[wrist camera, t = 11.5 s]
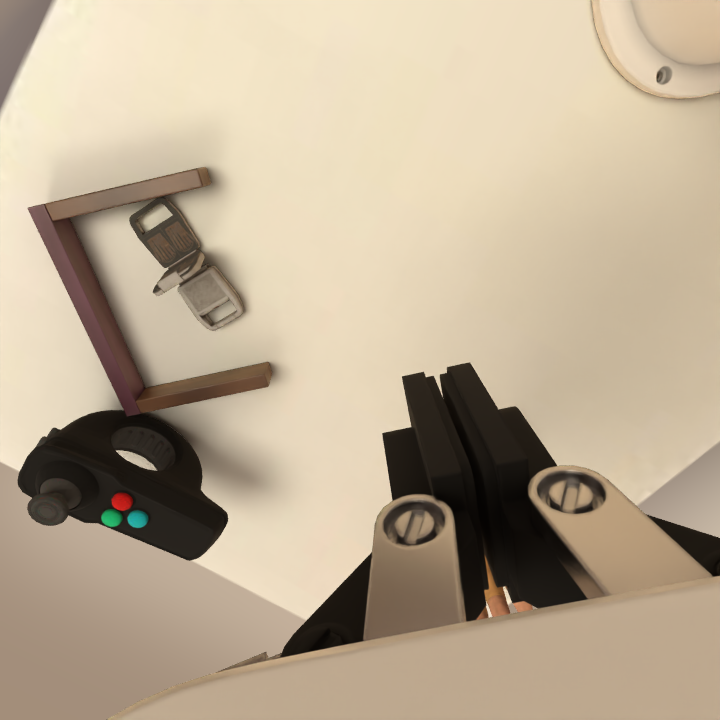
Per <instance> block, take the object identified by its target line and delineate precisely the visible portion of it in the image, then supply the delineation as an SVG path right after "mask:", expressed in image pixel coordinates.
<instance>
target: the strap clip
mask: <svg viewBox="0 0 720 720" xmlns="http://www.w3.org/2000/svg"><path fill="white" fill-rule="evenodd" d="M160 204H164V205H165V206H166V207H167V209H168V210H169V211H170V212H171V213H172V214H173V216H171V217H170V218H168V219H167V220H165V221H163V222H162V223H160V224H159V225H157V226H156V227H154V228H153V229H151V230H150V231H148V232H147V233H145V232H144V231H143V229H142V228H141V226H140V225H139V223H138V219H139V218H140V217H141V216H143V215H144V214H146V213H147V212H149V211H150V210H152V209H153V208H155V207H156V206H158V205H160ZM129 221H130V224H131V226H132V228H133V230H134V231H135V233H136V235H137V236H138V238H139V239H140V240H141V242H142V243H143V244H144V245H145V246H146V248H147V249H148V250H149V251H150V252H151V253H152V255H153V256H154V257H155V258H156V259H157V261H158V262H159V263H160V264H161V265H162V266H163V267H164V268H167V267H169V268H168V269H169V270H167V271H166V272H165V273H164V275H163V276H162V277H161V279H160V280H159V282H157V285H156V286H155V287H154V290H153V293H154V294H155V295H156V296H160V295H162V294H163V293H165V292H166V291H168V290H170V289H171V288H173V287H175V286H176V285H178V284H179V285H180V286H179V287H178V292H179V293H180V295H181V296H182V298H183V299H184V301H185V302H186V304H187V305H188V307H189V308H190V310H191V311H192V313H193V314H194V316H195V317H196V318H197V320H198V321H199V322H200V323H202V324H203V325H204V326H205V327H206V328H207V329H209V330H212V331H214V330H217V329H219V328H220V327H222V326H224V325H226V324H227V323H229V322H231V321H232V320H234V319H236V318H237V317H239V316H241V315H242V313H243V311H244V307H243V304H242V302H241V300H240V298H239V296H238V294H237V292H236V291H235V290H234V289H233V287H232V286H231V285H230V284H229V282H228V281H227V280H226V279H225V277H224V276H223V275H222V274H221V272H220V271H219V270H218V269H217V267H216V266H209V265H208V263H207V264H206V265H204V266H202V263H203V260H204V255H203V253H202V252H201V251H199V250H198V248H199V247H200V243H199V241H198V240H197V238H196V237H195V235H194V234H193V232H192V230H191V229H190V227H189V226H188V224H187V222H186V221H185V219H184V218H183V216H182V215H181V213H180V211H179V210H178V209H177V208H176V207H175V206H174V205H173V204H172V203H171V202H170V201H169V200H167V199H166V198H163V197H160V198H157V199H156V200H154V201H153V202H151V203H150V204H148V205H147V206H145V207H144V208H142V209H141V210H139V211H138V212H136V213H134V214H133V215H131V217H130V220H129ZM201 266H202V267H201ZM229 300H231V301H232V303H233V305H234V306H235V308H236V309H237V311H235V312H234V313H232V314H230V315H228V316H227V317H225V318H223V319H222V320H220V321H218V322H216V323H213V322H212V321H211V320H210V318H209V317H208V316H207V315H206V314H207V313H209V312H210V311H212V310H214V309H215V308H217V307H219V306H220V305H222V304H224V303H225V302H227V301H229Z"/></svg>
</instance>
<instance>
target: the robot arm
mask: <svg viewBox="0 0 720 720" xmlns="http://www.w3.org/2000/svg"><path fill="white" fill-rule="evenodd" d="M592 8H593V15H594V23H595V27H596V30H597V33H598V36H599V39H600V42H601V45H602V47H603V49H604V51H605V53H606V54H607V56H608V58H609V60H610V61H611V63H612V65H613V66H614V67H615V68H616V69H617V70H618V71H619V72H620V74H621V75H622V76H623V77H624V78H625V79H626V80H627V81H629V82H630V83H632V84H633V85H635V86H636V87H638V88H639V89H641V90H642V91H645V92H648V93H651V94H654V95H657V96H659V97H666V98H676V99H684V98H694V97H702V96H707V95H711V94H715V93H720V0H592ZM657 74H658V79H656V76H657ZM402 380H403V385H404V390H405V395H406V400H407V406H408V411H409V416H410V421H411V426H412V427H410V428H405V429H400V430H396V431H391V432H386V433H382V434H383V441H384V448H385V454H386V461H387V467H388V474H389V480H390V486H391V493H392V499H393V501H392V502H390V503H389V504H388V505H386V506H385V507H384V508H383V509H382V511H381V512H380V513H379V515H378V516H377V519H376V523H375V528H374V538H373V548H372V553H371V554H370V555H369V556H368V557H367V558H366V559H365V560H364V561H363V562H362V563H361V564H360V565H359V566H358V567H357V568H356V569H355V570H354V572H353V573H352V574H351V575H350V576H349V577H348V578H347V579H346V580H345V581H344V582H343V583H342V584H341V585H340V586H339V587H338V588H337V589H336V590H335V591H334V592H333V594H332V595H331V596H330V597H329V598H328V599H327V600H326V601H325V602H324V603H323V604H322V605H321V606H320V607H319V608H318V609H317V610H316V611H315V612H314V613H313V614H312V616H311V617H310V618H309V619H308V620H307V621H306V622H305V623H304V624H303V625H302V626H301V627H300V628H299V629H298V630H297V631H296V632H295V633H294V634H293V636H292V637H291V639H290V640H289V641H288V643H287V644H286V645H285V647H284V649H283V652H282V653H280V654H278V655H275V656H273V657H270V658H268V655H267V653H266V652H264V653H262V654H259V655H257V656H254V657H252V658H250V659H247V660H245V661H242V662H240V663H238V664H235V665H233V666H230V667H228V668H225V669H223V670H221V671H218V672H216V673H213V674H209V675H206V676H203V677H200V678H197V679H194V680H191V681H188V682H185V683H182V684H179V685H175V686H173V687H171V688H169V689H166V690H164V691H161V692H159V693H157V694H155V695H152V696H150V697H148V698H146V699H143V700H141V701H139V702H137V703H135V704H133V705H131V706H130V707H128V708H126V709H124V710H123V711H121V712H119V713H117V714H116V715H114V716H112V717H110V718H109V719H107V720H720V538H718V537H715V536H712V535H709V534H706V533H702V532H699V531H696V530H693V529H690V528H687V527H684V526H681V525H677V524H674V523H671V522H668V521H665V520H662V519H658V518H655V517H652V516H649V515H646V514H645V513H644V512H642V511H641V510H640V509H639V508H638V507H637V506H636V505H635V504H634V503H633V502H632V501H630V500H629V499H628V498H627V497H626V496H625V495H624V494H623V493H622V492H621V491H620V490H618V489H617V488H616V487H615V486H614V485H613V484H612V483H611V482H610V481H609V480H608V479H606V478H605V477H603V476H602V475H600V474H599V473H597V472H595V471H592V470H590V469H587V468H583V467H578V466H557V464H556V463H555V462H554V460H553V459H552V457H551V456H550V454H549V453H548V451H547V450H546V448H545V447H544V445H543V444H542V442H541V441H540V440H539V438H538V437H537V435H536V434H535V432H534V431H533V429H532V428H531V426H530V425H529V423H528V422H527V420H526V419H525V418H524V416H523V415H522V413H521V412H520V410H519V409H518V408H517V407H515V406H514V407H509V408H504V409H499V410H498V408H497V406H496V405H495V403H494V401H493V400H492V398H491V396H490V395H489V393H488V392H487V390H486V388H485V387H484V385H483V383H482V382H481V380H480V378H479V377H478V375H477V373H476V372H475V370H474V368H473V367H472V365H471V364H470V362H469V363H465V364H460V365H455V366H450V367H447V373H445V374H440V381H441V388H442V394H443V397H442V395H441V393H440V390H439V388H438V385H437V383H436V380H435V378H434V376H430V377H426V376H425V374H424V372H421V373H416V374H412V375H407V376H402ZM485 557H486V560H487V562H488V565H489V568H490V571H491V573H492V576H493V579H494V582H495V584H496V586H497V588H499V587H504V586H506V587H507V590H508V593H509V595H510V598H511V601H512V603H517V602H522V601H525V602H527V603H529V604H531V605H533V606H535V607H536V608H538V609H534V610H528V611H523V612H517V613H513V614H506V615H501V616H496V617H490V618H485V619H479V620H477V618H478V617H479V615H480V614H481V612H482V611H483V609H484V608H485V606H486V599H485V592H484V590H488V589H489V582H488V575H487V568H486V561H485Z"/></svg>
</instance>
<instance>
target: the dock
mask: <svg viewBox="0 0 720 720" xmlns="http://www.w3.org/2000/svg"><path fill="white" fill-rule="evenodd" d="M210 184H211V181H210V178H209V175H208V171H207V168H206V167H202V168H196V169H192V170H188V171H183V172H179V173H175V174H170V175H166V176H162V177H158V178H153V179H149V180H145V181H140V182H136V183H132V184H127V185H123V186H119V187H115V188H110V189H106V190H102V191H97V192H93V193H89V194H85V195H80V196H76V197H72V198H67V199H63V200H59V201H54V202H50V203H46V204H41V205H37V206H33V207H29V208H28V210H29V212H30V214H31V216H32V219H33V221H34V223H35V225H36V227H37V229H38V231H39V233H40V235H41V237H42V240H43V242H44V244H45V246H46V248H47V250H48V252H49V254H50V256H51V258H52V260H53V263H54V265H55V267H56V269H57V271H58V273H59V275H60V277H61V279H62V281H63V283H64V286H65V288H66V290H67V292H68V294H69V296H70V298H71V300H72V302H73V304H74V307H75V309H76V311H77V313H78V315H79V317H80V319H81V321H82V323H83V325H84V327H85V330H86V332H87V334H88V336H89V338H90V340H91V342H92V344H93V346H94V348H95V350H96V353H97V355H98V357H99V359H100V361H101V363H102V365H103V367H104V369H105V371H106V374H107V376H108V378H109V380H110V382H111V384H112V386H113V388H114V390H115V392H116V394H117V397H118V399H119V401H120V403H121V405H122V407H123V409H124V411H125V413H126V415H127V416H131V415H136V414H141V413H145V412H150V411H155V410H159V409H164V408H169V407H174V406H179V405H183V404H188V403H193V402H198V401H202V400H207V399H212V398H217V397H221V396H226V395H231V394H236V393H241V392H245V391H250V390H255V389H260V388H264V387H268V386H269V383H270V380H271V376H272V372H271V369H270V365H269V363H268V362H266V363H261V364H256V365H252V366H247V367H242V368H238V369H233V370H228V371H223V372H219V373H214V374H209V375H205V376H200V377H195V378H190V379H186V380H181V381H176V382H172V383H167V384H162V385H157V386H153V387H148V388H145V386H144V383H143V381H142V379H141V377H140V374H139V372H138V370H137V368H136V365H135V363H134V361H133V359H132V357H131V354H130V352H129V350H128V348H127V345H126V343H125V341H124V339H123V336H122V334H121V332H120V330H119V327H118V325H117V323H116V321H115V318H114V316H113V314H112V312H111V309H110V307H109V305H108V303H107V300H106V298H105V296H104V294H103V292H102V289H101V287H100V285H99V283H98V280H97V278H96V276H95V274H94V271H93V269H92V267H91V265H90V262H89V260H88V258H87V256H86V253H85V251H84V249H83V247H82V244H81V242H80V240H79V238H78V236H77V233H76V231H75V229H74V227H73V224H72V222H71V220H70V218H71V217H75V216H79V215H84V214H88V213H92V212H97V211H101V210H105V209H110V208H114V207H118V206H123V205H127V204H131V203H136V202H140V201H144V200H149V199H153V198H157V197H162V196H166V195H170V194H175V193H179V192H183V191H188V190H192V189H196V188H201V187H204V186H207V185H210Z"/></svg>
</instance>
